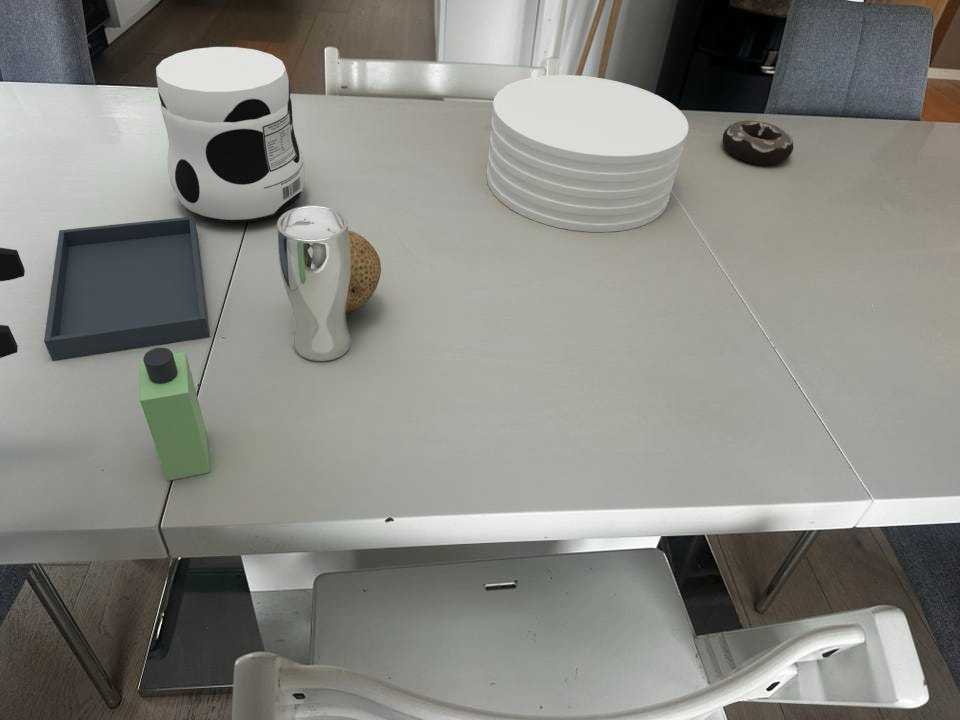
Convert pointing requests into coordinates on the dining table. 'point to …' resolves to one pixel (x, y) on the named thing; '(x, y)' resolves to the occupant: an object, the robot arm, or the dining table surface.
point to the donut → (757, 142)
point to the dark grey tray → (126, 288)
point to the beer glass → (317, 278)
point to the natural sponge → (362, 271)
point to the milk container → (230, 133)
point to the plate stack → (584, 152)
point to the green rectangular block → (173, 413)
